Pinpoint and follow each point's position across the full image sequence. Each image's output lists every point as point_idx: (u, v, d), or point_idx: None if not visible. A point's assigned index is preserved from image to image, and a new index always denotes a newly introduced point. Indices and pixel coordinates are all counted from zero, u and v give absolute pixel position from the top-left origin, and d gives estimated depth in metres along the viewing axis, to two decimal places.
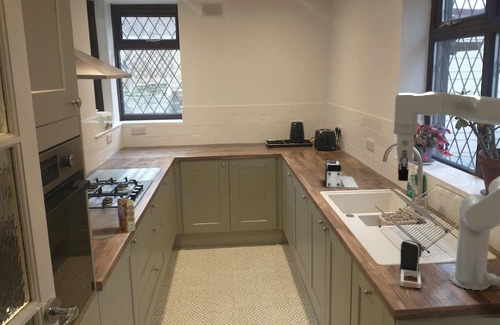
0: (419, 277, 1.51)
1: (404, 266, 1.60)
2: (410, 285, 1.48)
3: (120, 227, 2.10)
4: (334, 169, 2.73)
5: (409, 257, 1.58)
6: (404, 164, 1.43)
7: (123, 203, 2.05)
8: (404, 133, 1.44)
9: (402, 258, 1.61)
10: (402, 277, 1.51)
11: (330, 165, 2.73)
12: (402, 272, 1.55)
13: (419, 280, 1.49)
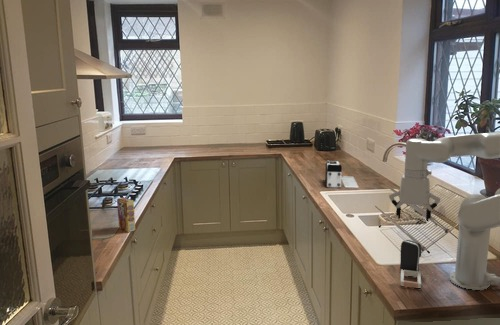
0: (419, 277, 1.51)
1: (404, 266, 1.60)
2: (410, 285, 1.48)
3: (120, 227, 2.10)
4: (334, 169, 2.73)
5: (409, 257, 1.58)
6: None
7: (123, 202, 2.05)
8: (426, 176, 1.52)
9: (402, 258, 1.61)
10: (402, 277, 1.51)
11: (330, 165, 2.72)
12: (402, 272, 1.55)
13: (419, 280, 1.49)
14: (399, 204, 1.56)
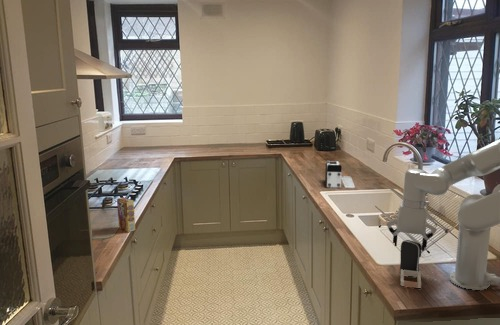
0: (419, 277, 1.51)
1: (404, 266, 1.60)
2: (410, 285, 1.48)
3: (120, 227, 2.10)
4: (334, 169, 2.72)
5: (409, 257, 1.58)
6: None
7: (123, 203, 2.05)
8: (424, 207, 1.54)
9: (402, 258, 1.61)
10: (402, 277, 1.51)
11: (330, 165, 2.72)
12: (402, 272, 1.55)
13: (419, 280, 1.49)
14: (396, 232, 1.59)
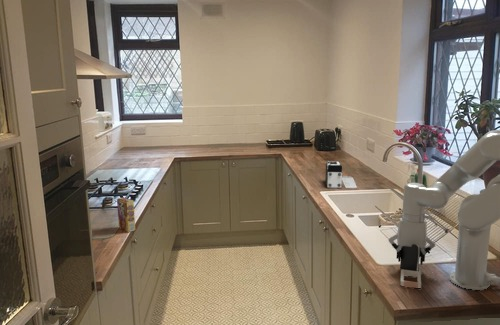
0: (419, 277, 1.51)
1: (404, 266, 1.60)
2: (410, 285, 1.48)
3: (120, 227, 2.10)
4: (335, 169, 2.72)
5: (409, 257, 1.58)
6: None
7: (123, 203, 2.05)
8: (423, 220, 1.55)
9: (402, 258, 1.61)
10: (402, 277, 1.51)
11: (331, 165, 2.71)
12: (402, 272, 1.55)
13: (419, 280, 1.49)
14: (399, 248, 1.59)
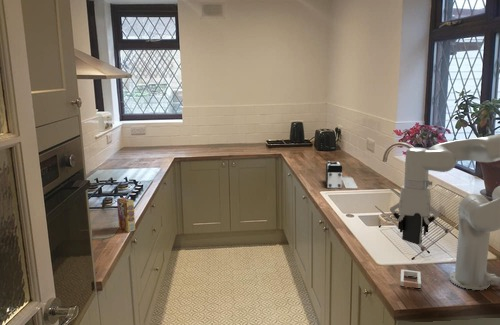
0: (419, 277, 1.51)
1: (406, 237, 1.51)
2: (410, 285, 1.48)
3: (120, 227, 2.10)
4: (335, 170, 2.71)
5: (411, 227, 1.49)
6: None
7: (123, 203, 2.05)
8: (427, 187, 1.46)
9: (404, 228, 1.51)
10: (402, 277, 1.51)
11: (331, 166, 2.71)
12: (402, 272, 1.55)
13: (419, 280, 1.49)
14: (401, 217, 1.50)
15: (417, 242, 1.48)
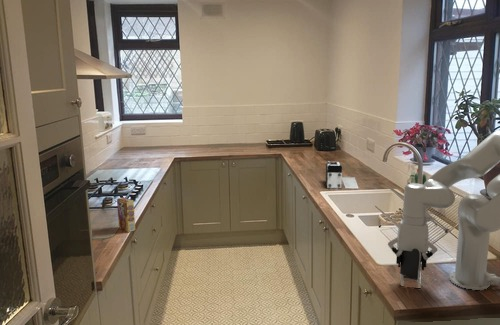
0: None
1: (404, 272, 1.51)
2: (410, 285, 1.48)
3: (120, 227, 2.10)
4: (335, 170, 2.71)
5: (409, 262, 1.49)
6: None
7: (123, 203, 2.05)
8: (425, 223, 1.46)
9: (402, 263, 1.51)
10: (402, 277, 1.51)
11: (331, 166, 2.70)
12: None
13: (419, 280, 1.49)
14: (399, 252, 1.50)
15: (415, 277, 1.48)
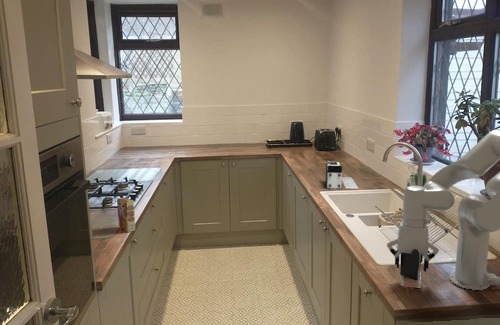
0: None
1: (404, 272, 1.51)
2: (410, 285, 1.48)
3: (120, 227, 2.10)
4: (335, 170, 2.70)
5: (409, 263, 1.49)
6: None
7: (123, 203, 2.05)
8: (425, 225, 1.46)
9: (402, 264, 1.51)
10: (402, 277, 1.51)
11: (331, 166, 2.70)
12: None
13: (419, 280, 1.49)
14: (398, 253, 1.50)
15: (415, 278, 1.48)
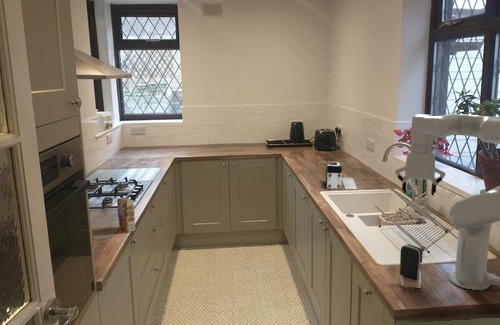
0: None
1: (404, 272, 1.51)
2: (410, 285, 1.48)
3: (120, 227, 2.10)
4: (334, 170, 2.69)
5: (409, 263, 1.49)
6: (442, 178, 1.56)
7: (123, 203, 2.05)
8: None
9: (402, 264, 1.51)
10: (402, 277, 1.51)
11: (330, 166, 2.69)
12: None
13: (419, 280, 1.49)
14: (405, 179, 1.59)
15: (415, 278, 1.48)
